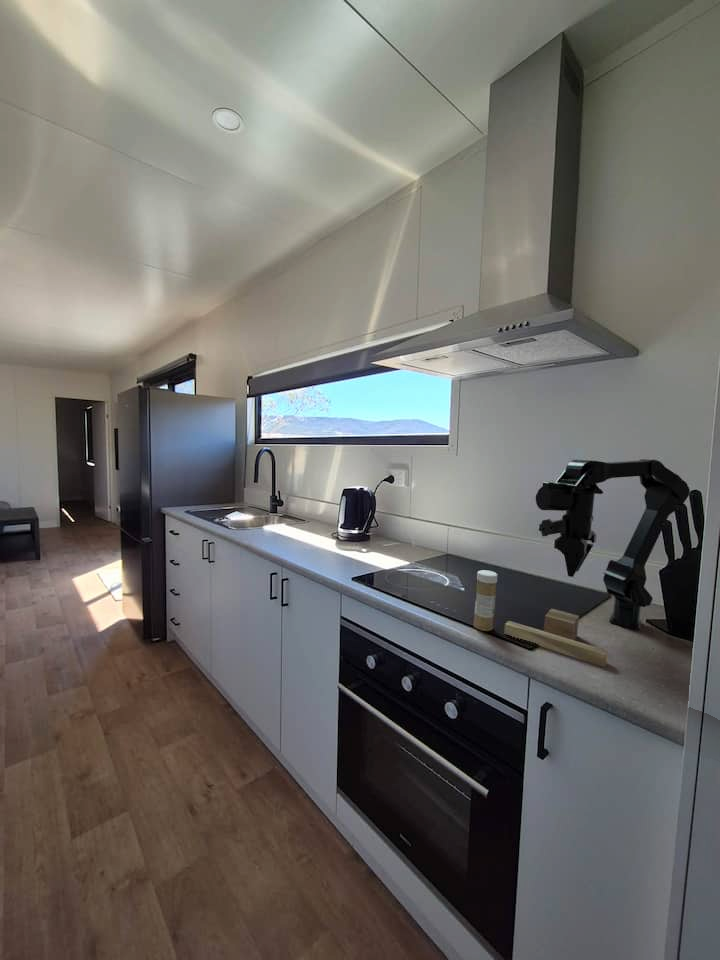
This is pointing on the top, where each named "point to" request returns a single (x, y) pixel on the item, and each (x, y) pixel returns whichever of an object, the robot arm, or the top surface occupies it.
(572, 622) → the tan wooden block
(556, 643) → the oak board
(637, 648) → the top surface
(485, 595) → the sprinkles bottle
